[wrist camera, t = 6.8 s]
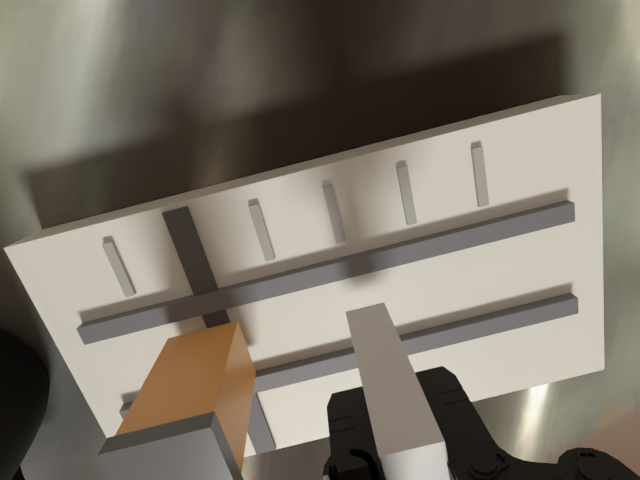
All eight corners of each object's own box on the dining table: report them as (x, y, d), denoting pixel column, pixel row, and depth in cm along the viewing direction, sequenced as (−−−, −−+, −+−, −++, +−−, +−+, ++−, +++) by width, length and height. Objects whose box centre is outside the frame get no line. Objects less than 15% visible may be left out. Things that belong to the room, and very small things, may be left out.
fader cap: (188, 390, 17) (137, 524, 12) (164, 336, 16) (98, 454, 11) (258, 372, 17) (241, 499, 12) (239, 318, 16) (210, 427, 11)
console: (149, 444, 22) (128, 493, 19) (41, 229, 18) (-6, 252, 15) (570, 340, 22) (612, 376, 19) (559, 95, 18) (610, 93, 15)
